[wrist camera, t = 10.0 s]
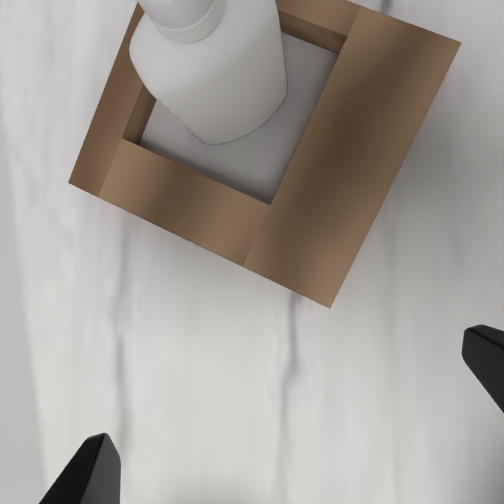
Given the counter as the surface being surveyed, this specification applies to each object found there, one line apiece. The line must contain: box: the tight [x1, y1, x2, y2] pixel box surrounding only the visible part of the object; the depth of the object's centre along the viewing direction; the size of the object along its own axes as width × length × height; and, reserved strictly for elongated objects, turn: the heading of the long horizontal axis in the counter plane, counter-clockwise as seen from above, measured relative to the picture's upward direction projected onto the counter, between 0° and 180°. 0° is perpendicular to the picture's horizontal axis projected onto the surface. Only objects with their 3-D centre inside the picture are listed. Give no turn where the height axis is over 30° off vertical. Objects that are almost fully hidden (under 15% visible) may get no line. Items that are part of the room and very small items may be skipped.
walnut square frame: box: [68, 0, 461, 308], centre depth 18 cm, size 16×14×2 cm
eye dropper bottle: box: [129, 0, 288, 145], centre depth 13 cm, size 4×6×12 cm
